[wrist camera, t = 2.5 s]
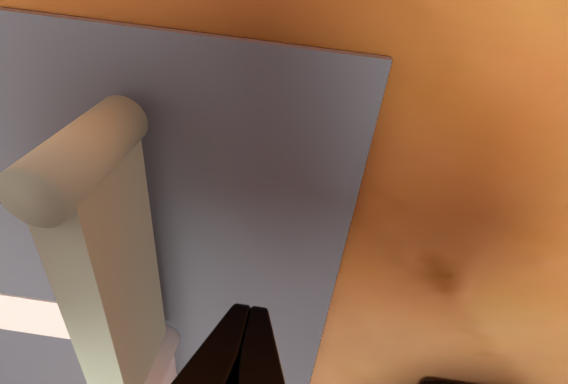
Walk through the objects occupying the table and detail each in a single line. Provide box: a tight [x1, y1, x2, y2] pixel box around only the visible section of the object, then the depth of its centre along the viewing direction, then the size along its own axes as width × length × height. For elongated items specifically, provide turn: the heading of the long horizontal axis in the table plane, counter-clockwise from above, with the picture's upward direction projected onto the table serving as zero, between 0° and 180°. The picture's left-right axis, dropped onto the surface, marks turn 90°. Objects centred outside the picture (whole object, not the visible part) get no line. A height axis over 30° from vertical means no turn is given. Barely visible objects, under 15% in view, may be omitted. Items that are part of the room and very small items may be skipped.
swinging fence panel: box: [0, 95, 166, 384], centre depth 13 cm, size 2×12×4 cm, turn 174°
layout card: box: [0, 7, 392, 384], centre depth 16 cm, size 22×27×6 cm
